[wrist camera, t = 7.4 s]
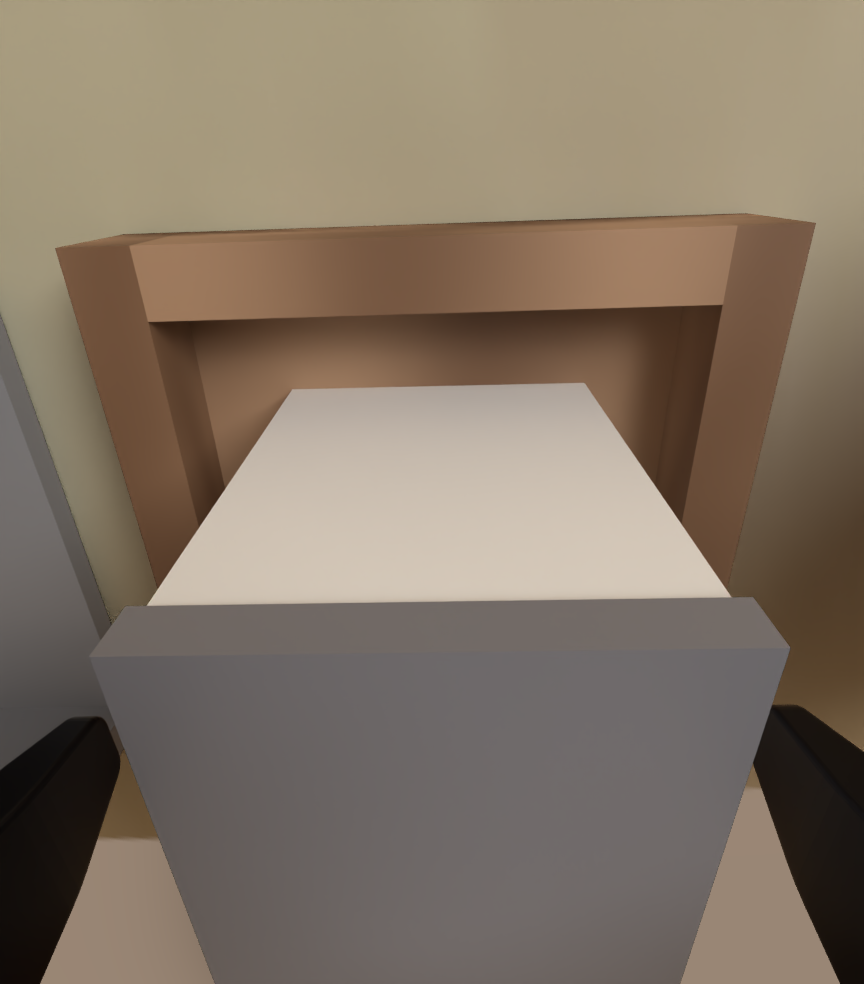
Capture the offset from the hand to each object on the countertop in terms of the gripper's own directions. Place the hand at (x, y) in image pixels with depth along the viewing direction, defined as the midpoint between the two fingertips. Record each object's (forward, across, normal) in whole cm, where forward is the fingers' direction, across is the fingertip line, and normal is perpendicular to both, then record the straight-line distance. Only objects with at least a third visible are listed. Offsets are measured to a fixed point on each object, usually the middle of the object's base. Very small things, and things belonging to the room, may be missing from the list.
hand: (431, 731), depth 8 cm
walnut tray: (+5, 0, 0) cm, 5 cm away
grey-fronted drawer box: (+4, 0, 0) cm, 4 cm away
